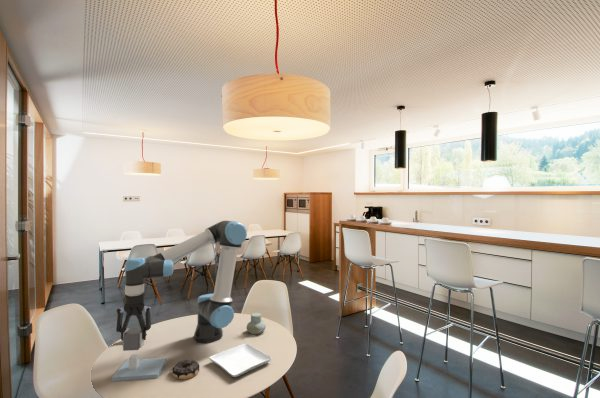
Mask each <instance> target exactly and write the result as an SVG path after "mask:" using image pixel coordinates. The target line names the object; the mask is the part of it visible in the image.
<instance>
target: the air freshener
mask: <svg viewBox="0 0 600 398" xmlns="http://www.w3.org/2000/svg"><path fill="white" fill-rule="evenodd" d="M266 328H267V327H266V323H265V322H264V321H262V313H260V312H253V313H252V314H250V321H249V322H248V323H247V324H246V328H245V329H246V331H247V332H248V333H250V334H252V335H259V334H261V333H263V332H264V331H265V330H266ZM258 333H259V334H258Z"/></svg>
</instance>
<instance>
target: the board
mask: <svg viewBox="0 0 600 398" xmlns="http://www.w3.org/2000/svg"><path fill="white" fill-rule="evenodd" d="M167 363H168V357H159V358H158V357H155V358H145V359H144V358H143V359H140V354H138V353H137V354H136V353H135V354H131V355H130V356H129V357H128V360H125V361H124V362H123V364H122V365H121V366H120V367H119V368H118V369H117V370H116V371H115V373H114V374H113V376H112V377H111V382H119V381H120V382H121V381H133V380H135V381H136V380H147V379H158V378H159V376H160V375H161V373H162V371H163V369H164V367H165V365H166V364H167Z"/></svg>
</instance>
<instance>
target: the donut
mask: <svg viewBox="0 0 600 398" xmlns="http://www.w3.org/2000/svg"><path fill="white" fill-rule="evenodd" d="M199 372H200V363H199V362H198V361H197V360H195V359H193V358H192V359H191V358H190V359H185V360H181V361H178V362H177V363H175V364H174V365H173V366H172V368H171V375H172V376H173V377H174V378H175V379H177V380H188V379H191V378H193V377H196V375H198V374H199Z"/></svg>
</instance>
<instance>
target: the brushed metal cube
mask: <svg viewBox="0 0 600 398" xmlns="http://www.w3.org/2000/svg"><path fill="white" fill-rule="evenodd" d="M141 331H142V330H141V327H139V328H138V327H137V328H129V330H127V331H126V332H125V333H124V337H123V343H122V351H123V352H126V351H129V352H130V351H139V350H140V349H141V348H140V332H141Z"/></svg>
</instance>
